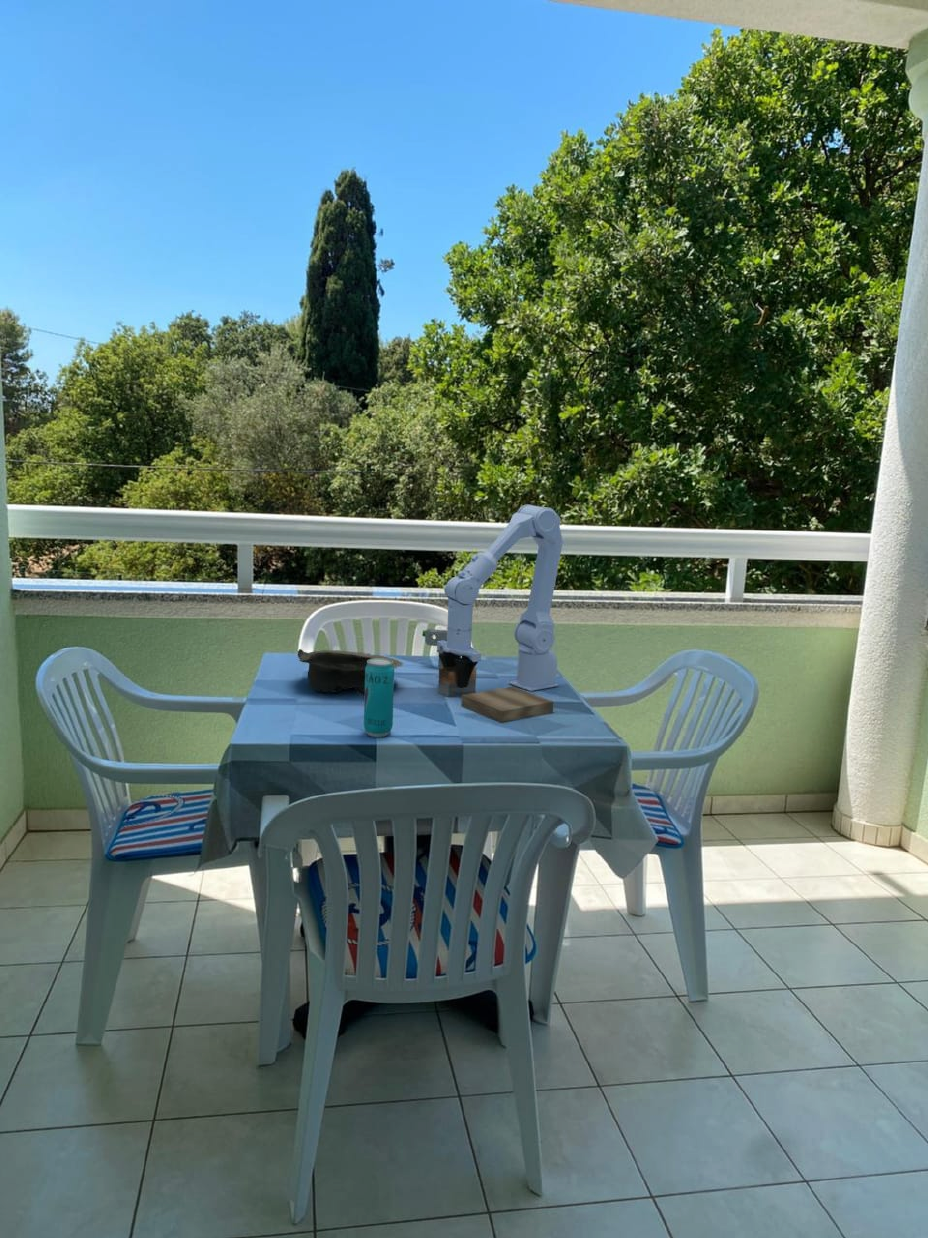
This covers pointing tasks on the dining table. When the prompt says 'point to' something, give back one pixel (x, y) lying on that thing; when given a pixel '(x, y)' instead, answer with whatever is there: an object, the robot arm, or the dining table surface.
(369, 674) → the beverage can
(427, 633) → the mechanical component
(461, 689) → the brown rectangular block
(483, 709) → the walnut stand
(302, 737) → the dining table surface
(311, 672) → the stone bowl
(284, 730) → the dining table surface
